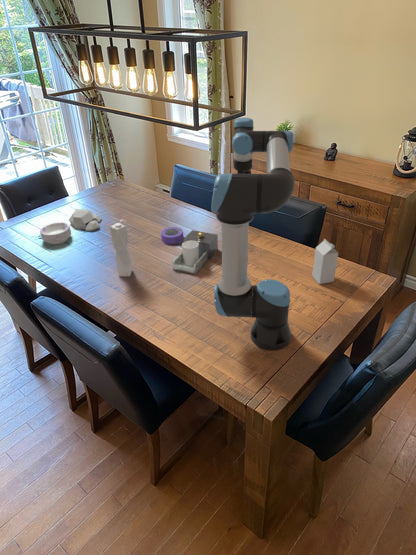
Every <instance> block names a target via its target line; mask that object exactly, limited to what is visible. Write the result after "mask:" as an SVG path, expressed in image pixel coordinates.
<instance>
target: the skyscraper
mask: <svg viewBox="0 0 416 555" xmlns="http://www.w3.org/2000/svg"><path fill="white" fill-rule="evenodd" d="M122 221H123V222H124V223H125V224H123V223H121V222H122ZM109 230H110V231H109V233H110V236H111V242H112V245H113V249H114V251H115V260H116V268H117V274H118V277H131V275H132V272H133V265H132V259H131V255H130V252H129V249H128V244H129V243H128V241H129V240H128V239H129V237H128V236H129V235H128V228H127V221H126V220H124V219H120V220H119V222H115V223H114V224H113V225H109Z"/></svg>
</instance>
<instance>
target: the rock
mask: <svg viewBox="0 0 416 555" xmlns="http://www.w3.org/2000/svg"><path fill="white" fill-rule="evenodd" d="M68 221H69V223H70V224H71V225H72V226H73V227H74V229H76V230H85V231H86V232H94V231H96V229H97V230H98V229H100V224H99V223H100V222H101V221H102V217H101V216H100V215H98V214H97V213H93V212H92V211H91V210H90V209H87V208H86V209H84V208H81V209H80V208H79V209H77V208H76V209H75V210H74V212H73V213H72V215H71V216H70V217H69V218H68ZM98 222H99V223H98Z"/></svg>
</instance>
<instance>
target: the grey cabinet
mask: <svg viewBox="0 0 416 555" xmlns="http://www.w3.org/2000/svg"><path fill="white" fill-rule="evenodd" d="M183 238H184V239H183V242H185V241H190V240H192V241H196V242H198V244H199V254H198V255H199V256H198V261H197V262H196V263H195V264H194V265H193V266H188V265H186V264H185V263H184V257H183V250H181V251H180V252H179V253H178V254H177V255H176V256H175V257H174V259H172V261H171V263H172V265H171V266H172V270H173V271H176V272H181V273H186V274H189V275H190V274H191V275H197V274H198V272H199V271H200V270H201V269H202V268H203V267H204V265H205V264H206V263H207V261H208V260H211V259H212V258H213V256H215V254H216V253H217V251H218V250H219V247H218V246H219V244H218V242H219V240H218V239H219V237H218V234H216V233H210V232H204V231H198V230H194V229H192V230H191V231H190V232H189V233H188V234H187V235H186V236H185V237H183Z"/></svg>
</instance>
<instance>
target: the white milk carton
mask: <svg viewBox="0 0 416 555" xmlns="http://www.w3.org/2000/svg"><path fill="white" fill-rule="evenodd" d="M335 247H336V246H335V244H333V243H331V242H329V241H328V240H327V239H326V238H323V240H322V242H320V243H319V244H318V245H317V246H316V247H315V251H314V260H313V267H312V274H311V275H312V278H313V279H314V280H315V281H316V283H317V284H319V285H322V284H328V283H334V281H335V274H336V270H337V263H338V258H339V252H338V251H337V250H336V249H335Z"/></svg>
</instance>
